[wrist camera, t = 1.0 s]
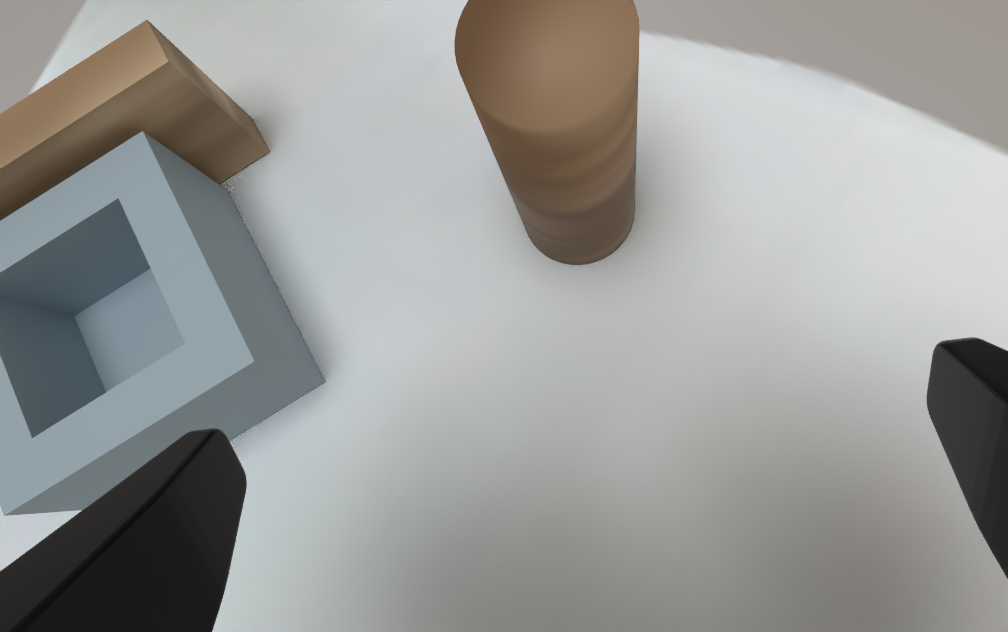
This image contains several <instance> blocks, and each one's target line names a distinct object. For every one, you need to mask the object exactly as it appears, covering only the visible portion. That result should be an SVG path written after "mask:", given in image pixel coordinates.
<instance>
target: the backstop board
mask: <svg viewBox="0 0 1008 632" xmlns="http://www.w3.org/2000/svg"><path fill="white" fill-rule="evenodd" d="M142 131H143V132H145V133H146V134H148V135H149V136H150V137H152V138H153V139H155V140H156V141H158V142H159V143H160V144H162V145H163V146H165V147H166V148H168V149H169V150H170V151H172V152H173V153H175V154H176V155H178V156H179V157H180V158H182V159H183V160H185V161H186V162H188V163H189V164H190V165H192V166H193V167H195V168H196V169H198V170H199V171H200V172H202V173H203V174H205V175H206V176H208V177H209V178H210V179H212V180H213V181H215V182H216V183H218V184H219V183H221V182H223V181H224V180H226V179H227V178H229V177H231V176H232V175H234V174H235V173H237V172H239V171H240V170H242V169H243V168H245V167H246V166H248V165H250V164H251V163H253V162H254V161H256V160H258V159H259V158H261V157H262V156H264V155H265V154H267V153H269V152H270V151H269V149H268V147H267V145H266V144H265V142H264V140H263V138H262V136H261V134H260V132H259V131H258V129H257V127H256V125H255V123H254V121H253V120H252V118H251V117H250V116H249V115H248V114H247V113H246V112H245V111H244V110H243V109H242V108H241V107H240V106H239V105H237V104H236V103H235V102H234V101H233V100H232V99H231V98H230V97H229V96H228V95H227V94H226V93H225V92H224V91H223V90H221V89H220V88H219V87H218V86H217V85H216V84H215V83H214V82H213V81H212V80H211V79H210V78H209V77H208V76H207V75H205V74H204V73H203V72H202V71H201V70H200V69H199V68H198V67H197V66H196V65H195V64H194V63H193V62H192V61H191V60H190V59H188V58H187V57H186V56H185V55H184V54H183V53H182V52H181V51H180V50H179V49H178V48H177V47H176V46H175V45H174V44H172V43H171V42H170V41H169V40H168V39H167V38H166V37H165V36H164V35H163V34H162V33H161V32H160V31H159V30H158V29H156V28H155V27H154V26H153V25H152V24H151V23H150V22H149V21H148V20H146V21H144V22H143V23H141V24H140V25H138V26H136V27H135V28H133V29H132V30H130V31H129V32H127V33H126V34H124V35H122V36H121V37H119V38H118V39H116V40H115V41H113V42H111V43H110V44H108V45H107V46H105V47H104V48H102V49H101V50H99V51H97V52H96V53H94V54H93V55H91V56H90V57H88V58H87V59H85V60H83V61H82V62H80V63H79V64H77V65H76V66H74V67H72V68H71V69H69V70H68V71H66V72H65V73H63V74H62V75H60V76H58V77H57V78H55V79H54V80H52V81H51V82H49V83H48V84H46V85H44V86H43V87H41V88H40V89H38V90H37V91H35V92H34V93H32V94H30V95H29V96H27V97H26V98H24V99H23V100H21V101H20V102H18V103H17V104H15V105H14V106H12V107H10V108H9V109H7V110H6V111H4V112H3V113H1V114H0V221H1V220H2V219H4V218H6V217H7V216H9V215H10V214H12V213H14V212H15V211H17V210H18V209H20V208H21V207H23V206H25V205H26V204H28V203H29V202H31V201H33V200H34V199H36V198H37V197H39V196H40V195H42V194H44V193H45V192H47V191H48V190H50V189H51V188H53V187H55V186H56V185H58V184H59V183H61V182H63V181H64V180H66V179H67V178H69V177H70V176H72V175H74V174H75V173H77V172H78V171H80V170H82V169H83V168H85V167H86V166H88V165H89V164H91V163H93V162H94V161H96V160H97V159H99V158H100V157H102V156H104V155H105V154H107V153H108V152H110V151H112V150H113V149H115V148H116V147H118V146H119V145H121V144H123V143H124V142H126V141H127V140H129V139H131V138H132V137H134V136H135V135H137V134H138V133H140V132H142Z"/></svg>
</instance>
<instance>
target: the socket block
mask: <svg viewBox="0 0 1008 632" xmlns="http://www.w3.org/2000/svg"><path fill="white" fill-rule="evenodd" d="M323 383H325V380H324V378H323V376H322V374H321V372H320V370H319V368H318V366H317V364H316V362H315V360H314V358H313V356H312V354H311V352H310V350H309V348H308V346H307V345H306V343H305V341H304V339H303V337H302V335H301V333H300V331H299V329H298V327H297V325H296V323H295V321H294V319H293V317H292V315H291V313H290V311H289V309H288V307H287V305H286V303H285V301H284V299H283V297H282V296H281V294H280V292H279V290H278V288H277V286H276V284H275V282H274V280H273V278H272V276H271V274H270V272H269V270H268V268H267V266H266V264H265V262H264V260H263V258H262V256H261V254H260V252H259V250H258V248H257V246H256V245H255V243H254V241H253V239H252V237H251V235H250V233H249V231H248V229H247V227H246V225H245V223H244V221H243V219H242V217H241V215H240V213H239V211H238V209H237V207H236V205H235V203H234V201H233V199H232V197H231V196H230V194H229V192H228V190H226V189H225V188H223V187H222V186H220V185H219V184H218V183H216V182H215V181H213V180H212V179H210V178H209V177H208V176H206V175H205V174H203V173H202V172H200V171H199V170H198V169H196V168H195V167H193V166H192V165H190V164H189V163H188V162H186V161H185V160H183V159H182V158H180V157H179V156H178V155H176V154H175V153H173V152H172V151H170V150H169V149H168V148H166V147H165V146H163V145H162V144H160V143H159V142H158V141H156V140H155V139H153V138H152V137H150V136H149V135H148V134H146V133H145V132H143V131H142V132H140V133H138V134H137V135H135V136H134V137H132V138H131V139H129V140H127V141H126V142H124V143H123V144H121V145H119V146H118V147H116V148H115V149H113V150H112V151H110V152H108V153H107V154H105V155H104V156H102V157H100V158H99V159H97V160H96V161H94V162H93V163H91V164H89V165H88V166H86V167H85V168H83V169H82V170H80V171H78V172H77V173H75V174H74V175H72V176H70V177H69V178H67V179H66V180H64V181H63V182H61V183H59V184H58V185H56V186H55V187H53V188H51V189H50V190H48V191H47V192H45V193H44V194H42V195H40V196H39V197H37V198H36V199H34V200H33V201H31V202H29V203H28V204H26V205H25V206H23V207H21V208H20V209H18V210H17V211H15V212H14V213H12V214H10V215H9V216H7V217H6V218H4V219H2V220H1V221H0V505H1V508H2V511H3V513H4V516H6V515H20V514H33V513H47V512H60V511H74V510H84V509H85V508H86V507H88V506H89V505H90V504H92V503H93V502H94V501H96V500H97V499H98V498H100V497H101V496H103V495H104V494H105V493H107V492H108V491H109V490H111V489H112V488H113V487H115V486H116V485H117V484H119V483H120V482H121V481H123V480H124V479H125V478H127V477H128V476H129V475H131V474H132V473H133V472H135V471H136V470H138V469H139V468H140V467H142V466H143V465H144V464H146V463H147V462H148V461H150V460H151V459H152V458H154V457H155V456H156V455H158V454H159V453H160V452H162V451H163V450H164V449H166V448H167V447H168V446H170V445H171V444H172V443H174V442H175V441H177V440H178V439H179V438H181V437H182V436H183V435H185V434H186V433H188V432H190V431H194V430H202V429H210V428H217V429H220V430H222V431H223V432H224V433H225V434H226V436H227V438H228V440H229V441H230V440H232V439H234V438H235V437H237V436H239V435H240V434H242V433H243V432H245V431H247V430H248V429H250V428H252V427H253V426H255V425H257V424H258V423H260V422H261V421H263V420H265V419H266V418H268V417H270V416H271V415H273V414H274V413H276V412H278V411H279V410H281V409H283V408H284V407H286V406H287V405H289V404H291V403H292V402H294V401H296V400H297V399H299V398H300V397H302V396H304V395H305V394H307V393H309V392H310V391H312V390H314V389H315V388H317V387H318V386H320V385H322V384H323Z"/></svg>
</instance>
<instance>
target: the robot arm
mask: <svg viewBox="0 0 1008 632" xmlns="http://www.w3.org/2000/svg"><path fill="white" fill-rule="evenodd" d="M927 407H928V411H929V415H930V418H931V420H932V422H933V425H934V427H935V429H936V432H937V434H938V436H939V438H940V441H941V443H942V445H943V448H944V450H945V452H946V455H947V457H948V459H949V462H950V464H951V466H952V469H953V471H954V473H955V476H956V478H957V480H958V483H959V485H960V487H961V490H962V492H963V494H964V496H965V499H966V501H967V503H968V506H969V508H970V510H971V512H972V515H973V517H974V519H975V521H976V523H977V525H978V527H979V529H980V531H981V533H982V535H983V537H984V538H985V540H986V542H987V544H988V546H989V547H990V549H991V551H992V553H993V554H994V556H995V558H996V560H997V561H998V563H999V565H1000V566H1001V568H1002V570H1003V572H1004V573H1005V575H1006V577H1007V578H1008V351H1007V350H1004V349H1002V348H1000V347H998V346H995V345H993V344H991V343H988V342H986V341H984V340H981V339H979V338H973V337H971V338H962V339H954V340H946V341H941V342H940V343H938V344H937V345H936V347H935V349H934V351H933V356H932V363H931V370H930V377H929V383H928V390H927ZM246 485H247V482H246V475H245V472H244V469H243V467H242V465H241V463H240V461H239V459H238V457H237V455H236V453H235V451H234V449H233V447H232V446H231V444H230V442H229V440H228V438H227V436H226V434H225V433H224V432H223V431H222V430H220V429H217V428H210V429H202V430H194V431H190V432H188V433H186V434H185V435H183V436H182V437H181V438H179V439H178V440H177V441H175V442H174V443H172V444H171V445H170V446H168V447H167V448H166V449H164V450H163V451H162V452H160V453H159V454H158V455H156V456H155V457H154V458H152V459H151V460H150V461H148V462H147V463H146V464H144V465H143V466H142V467H140V468H139V469H138V470H136V471H135V472H133V473H132V474H131V475H129V476H128V477H127V478H125V479H124V480H123V481H121V482H120V483H119V484H117V485H116V486H115V487H113V488H112V489H111V490H109V491H108V492H107V493H105V494H104V495H103V496H101V497H100V498H98V499H97V500H96V501H94V502H93V503H92V504H90V505H89V506H88V507H86V508H85V509H84V510H82V511H81V512H80V513H78V514H77V515H76V516H74V517H73V518H72V519H70V520H69V521H68V522H66V523H65V524H64V525H62V526H61V527H59V528H58V529H57V530H55V531H54V532H53V533H51V534H50V535H49V536H47V537H46V538H45V539H43V540H42V541H41V542H39V543H38V544H37V545H35V546H34V547H33V548H31V549H30V550H29V551H27V552H26V553H25V554H23V555H22V556H20V557H19V558H18V559H16V560H15V561H14V562H12V563H11V564H10V565H8V566H7V567H6V568H4V569H3V570H2V571H0V632H212V630H213V627H214V624H215V621H216V618H217V615H218V612H219V608H220V605H221V601H222V598H223V595H224V591H225V587H226V583H227V579H228V575H229V570H230V565H231V560H232V555H233V551H234V546H235V541H236V536H237V532H238V527H239V522H240V517H241V512H242V508H243V503H244V498H245V493H246Z"/></svg>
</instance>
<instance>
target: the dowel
mask: <svg viewBox="0 0 1008 632" xmlns="http://www.w3.org/2000/svg"><path fill="white" fill-rule="evenodd" d="M455 56H456V63H457V66H458V69H459V72H460V75H461V77H462V79H463V82H464V84H465V87H466V89H467V91H468V94H469V96H470V98H471V101H472V103H473V106H474V108H475V110H476V113H477V115H478V117H479V120H480V122H481V125H482V127H483V129H484V132H485V134H486V136H487V139H488V141H489V144H490V146H491V148H492V151H493V153H494V155H495V158H496V160H497V163H498V165H499V167H500V170H501V172H502V174H503V177H504V179H505V182H506V184H507V186H508V189H509V191H510V193H511V196H512V198H513V201H514V203H515V205H516V208H517V210H518V212H519V215H520V217H521V220H522V222H523V224H524V227H525V229H526V231H527V234H528V236H529V238H530V239H531V241H532V242H533V244H534V245H535V246H536V247H537V249H538V250H540V251H541V252H542V253H543V254H544V255H546V256H548V257H549V258H551V259H553V260H555V261H558V262H561V263H565V264H572V265H581V264H588V263H593V262H596V261H599V260H601V259H603V258H605V257H607V256H608V255H610V254H612V253H613V252H614V251H615V250H616V249H618V248H619V246H620V245H621V244H622V243H623V242H624V240H625V239H626V238H627V236H628V234H629V232H630V230H631V227H632V224H633V219H634V209H635V173H636V136H637V100H638V64H639V19H638V15H637V10H636V7H635V4H634V2H633V0H468V2H467V4H466V6H465V7H464V9H463V11H462V14H461V16H460V19H459V21H458V25H457V29H456V35H455Z"/></svg>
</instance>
